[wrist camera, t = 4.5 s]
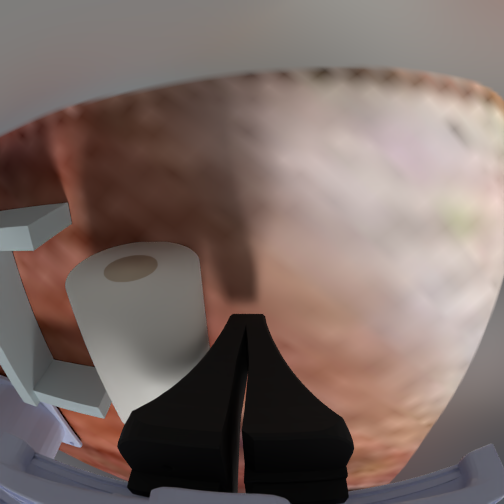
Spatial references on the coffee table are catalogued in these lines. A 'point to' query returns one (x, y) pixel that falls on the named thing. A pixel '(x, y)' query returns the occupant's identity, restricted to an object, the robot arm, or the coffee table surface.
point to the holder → (27, 330)
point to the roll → (140, 318)
